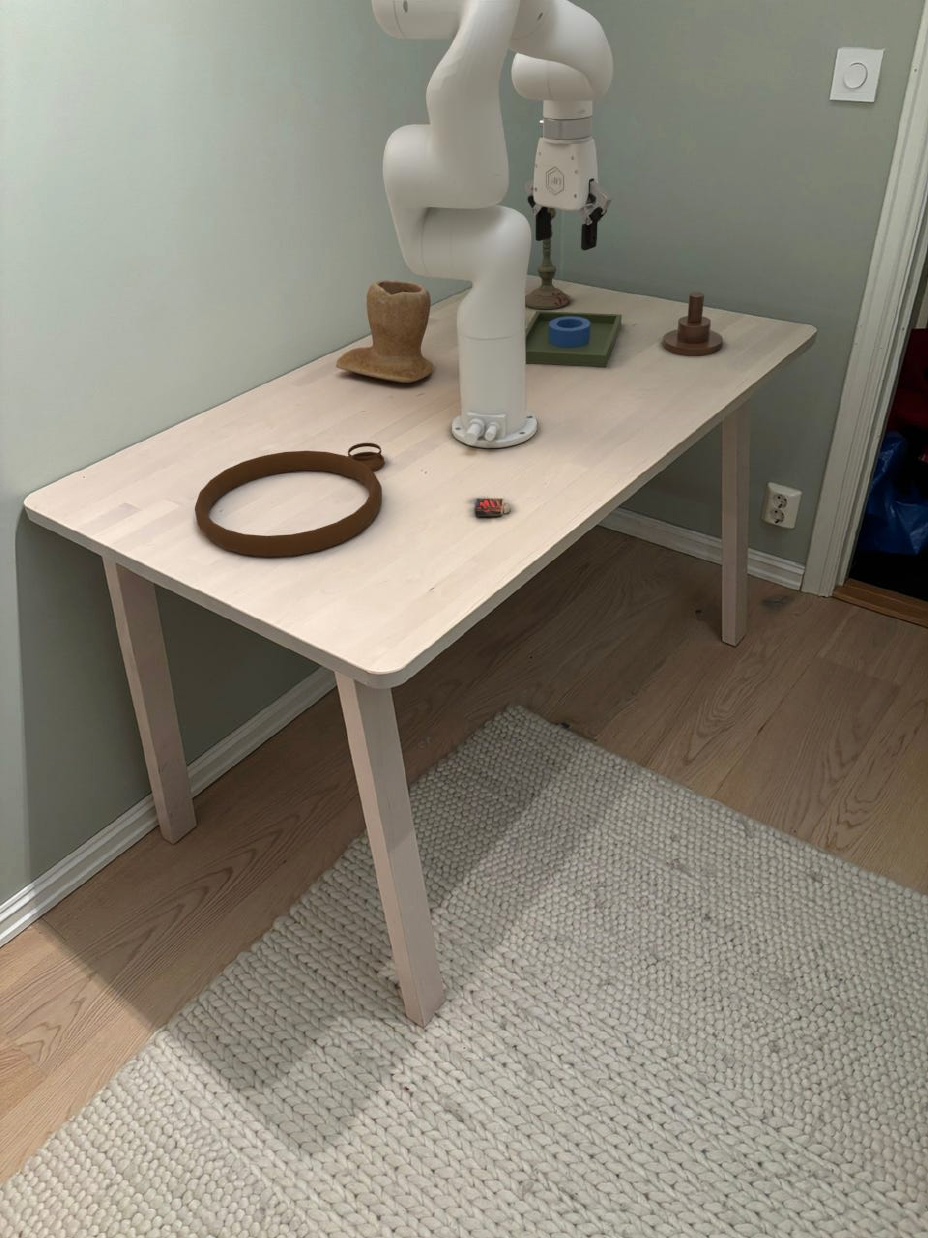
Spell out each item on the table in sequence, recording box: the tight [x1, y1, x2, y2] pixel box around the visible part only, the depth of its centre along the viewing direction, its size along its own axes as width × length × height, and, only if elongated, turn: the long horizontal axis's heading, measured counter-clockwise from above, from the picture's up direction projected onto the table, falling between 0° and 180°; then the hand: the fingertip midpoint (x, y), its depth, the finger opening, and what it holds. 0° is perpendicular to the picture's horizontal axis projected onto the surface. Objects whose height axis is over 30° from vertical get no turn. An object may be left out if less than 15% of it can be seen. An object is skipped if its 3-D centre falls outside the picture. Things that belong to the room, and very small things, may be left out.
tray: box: [525, 310, 623, 368], centre depth 175 cm, size 20×16×2 cm
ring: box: [549, 316, 591, 348], centre depth 175 cm, size 7×7×3 cm
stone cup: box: [335, 279, 435, 384], centre depth 165 cm, size 15×12×15 cm
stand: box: [662, 291, 724, 357], centre depth 170 cm, size 10×10×9 cm
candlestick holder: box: [525, 135, 571, 311], centre depth 185 cm, size 9×9×30 cm
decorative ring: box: [194, 442, 386, 558], centre depth 133 cm, size 24×3×30 cm
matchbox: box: [473, 496, 511, 517], centre depth 130 cm, size 5×5×1 cm
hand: (565, 243), depth 165 cm, fingers open, 9 cm apart
